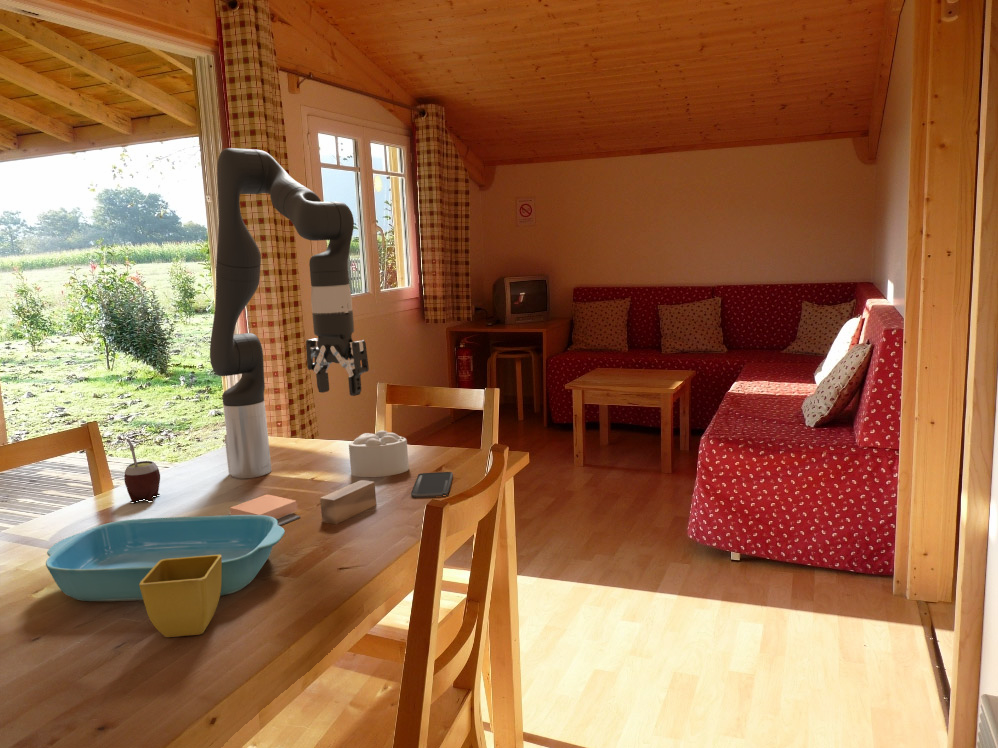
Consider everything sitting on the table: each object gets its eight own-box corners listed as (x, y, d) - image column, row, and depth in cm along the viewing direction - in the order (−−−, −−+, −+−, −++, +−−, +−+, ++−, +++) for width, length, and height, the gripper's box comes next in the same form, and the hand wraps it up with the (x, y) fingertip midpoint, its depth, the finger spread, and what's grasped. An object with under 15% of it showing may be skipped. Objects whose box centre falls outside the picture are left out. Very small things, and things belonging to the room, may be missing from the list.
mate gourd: (153, 492, 173) (145, 427, 171) (170, 498, 168) (162, 431, 166) (119, 501, 168) (110, 434, 165) (136, 508, 163) (126, 439, 160)
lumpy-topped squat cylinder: (361, 464, 188) (358, 429, 187) (413, 463, 186) (410, 428, 185) (347, 477, 178) (344, 440, 176) (403, 476, 176) (400, 439, 175)
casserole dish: (301, 546, 138) (298, 508, 137) (266, 604, 116) (261, 559, 115) (94, 557, 138) (89, 518, 137) (19, 616, 116) (12, 571, 115)
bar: (322, 522, 149) (320, 497, 149) (363, 503, 160) (361, 480, 159) (336, 525, 148) (333, 500, 147) (376, 505, 158) (374, 481, 157)
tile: (268, 504, 160) (231, 518, 153) (267, 494, 159) (230, 507, 152) (297, 511, 155) (260, 526, 148) (296, 500, 154) (259, 514, 147)
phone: (410, 494, 161) (418, 473, 175) (410, 499, 161) (419, 477, 176) (448, 492, 160) (453, 471, 175) (448, 498, 161) (453, 476, 175)
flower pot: (167, 616, 113) (160, 558, 112) (229, 611, 114) (222, 553, 112) (146, 647, 105) (137, 584, 103) (212, 641, 105) (204, 578, 104)
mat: (219, 519, 153) (219, 518, 153) (254, 506, 160) (254, 505, 160) (265, 531, 145) (265, 530, 145) (300, 517, 152) (300, 516, 152)
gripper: (291, 311, 148) (299, 394, 150) (344, 311, 140) (351, 400, 142) (321, 307, 154) (328, 387, 156) (373, 307, 146) (380, 392, 148)
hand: (339, 393), depth 149 cm, fingers open, 8 cm apart
